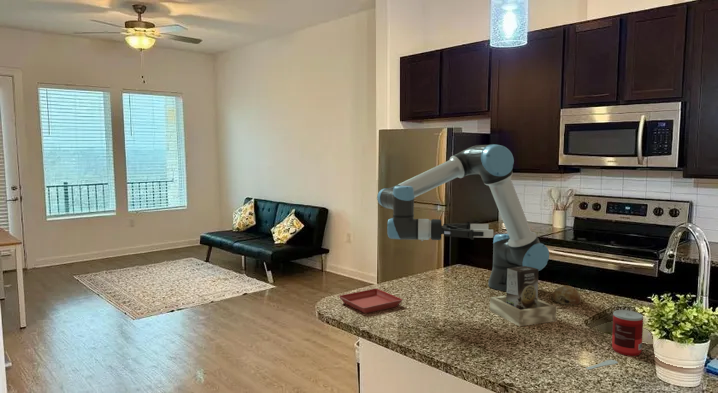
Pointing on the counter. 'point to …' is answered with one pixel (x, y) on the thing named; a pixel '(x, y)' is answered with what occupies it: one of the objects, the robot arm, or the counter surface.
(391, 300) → the plant saucer
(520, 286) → the coffee box
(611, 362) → the butter knife
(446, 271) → the counter surface
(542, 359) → the counter surface
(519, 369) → the counter surface
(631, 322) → the canned food
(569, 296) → the bread roll
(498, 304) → the wooden tray
